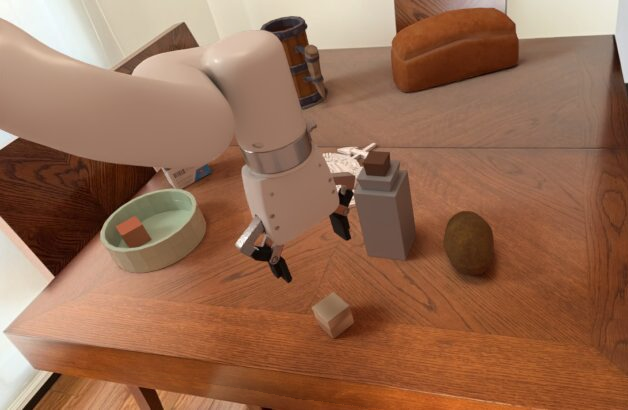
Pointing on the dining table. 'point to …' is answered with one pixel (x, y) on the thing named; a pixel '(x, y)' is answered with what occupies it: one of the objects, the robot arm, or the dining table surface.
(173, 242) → the bowl
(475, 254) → the potato
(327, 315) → the cream block
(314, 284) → the dining table surface
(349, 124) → the dining table surface
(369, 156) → the perfume bottle
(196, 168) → the ink box
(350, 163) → the pendant
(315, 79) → the mug
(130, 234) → the terracotta block
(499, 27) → the bread
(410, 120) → the dining table surface
